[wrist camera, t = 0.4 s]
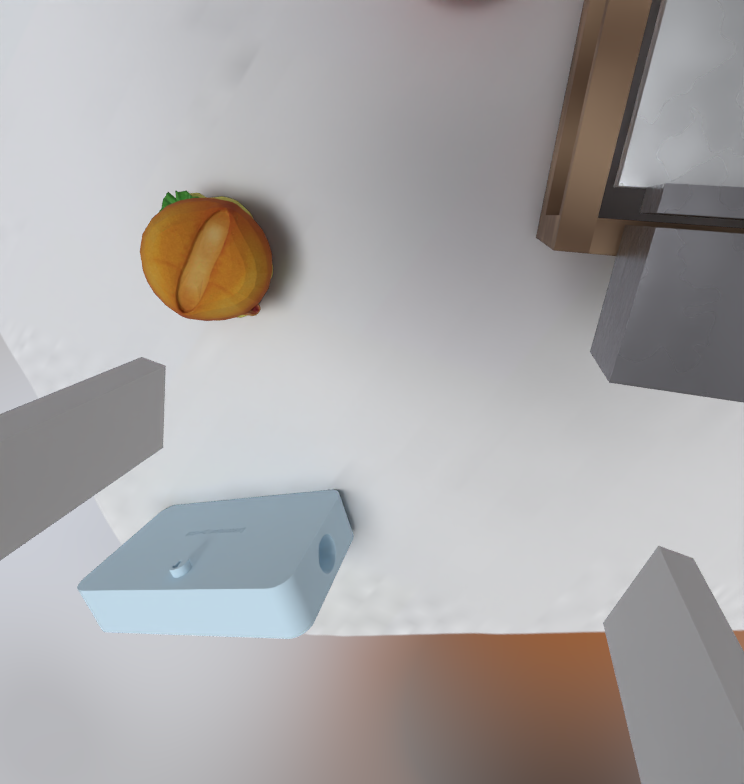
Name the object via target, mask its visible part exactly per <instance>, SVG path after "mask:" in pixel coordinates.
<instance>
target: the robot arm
mask: <svg viewBox="0 0 744 784" xmlns="http://www.w3.org/2000/svg"><path fill="white" fill-rule="evenodd" d="M165 367H166V366H165V365H162V364H159V363H157V362H154V361H151V360H148V359H146V358H143V357H141V358H138V359H136V360H133V361H131V362H128V363H126V364H123V365H121V366H118V367H116V368H113V369H111V370H108V371H106V372H103V373H101V374H99V375H96V376H94V377H91V378H89V379H86V380H84V381H81V382H79V383H76V384H74V385H71V386H69V387H66V388H64V389H61V390H59V391H56V392H54V393H51V394H49V395H47V396H44V397H42V398H39V399H37V400H34V401H32V402H29V403H27V404H24V405H22V406H19V407H17V408H14V409H12V410H9V411H7V412H5V413H2V414H0V560H2V559H3V558H5V557H6V556H7V555H9V554H10V553H12V552H13V551H15V550H16V549H17V548H19V547H20V546H22V545H23V544H25V543H26V542H27V541H29V540H30V539H32V538H33V537H35V536H36V535H38V534H39V533H41V532H42V531H43V530H45V529H46V528H48V527H49V526H50V525H52V524H54V523H55V522H56V521H58V520H59V519H61V518H62V517H64V516H65V515H67V514H68V513H69V512H71V511H72V510H74V509H75V508H77V507H78V506H79V505H81V504H82V503H84V502H85V501H87V500H88V499H90V498H91V497H92V496H94V495H95V494H97V493H98V492H100V491H101V490H103V489H104V488H105V487H107V486H108V485H110V484H111V483H113V482H114V481H116V480H117V479H118V478H120V477H121V476H123V475H124V474H126V473H127V472H129V471H130V470H131V469H133V468H134V467H136V466H137V465H139V464H140V463H141V462H143V461H144V460H146V459H147V458H149V457H150V456H152V455H153V454H154V453H156V452H157V451H159V450H160V449H162V448H163V429H164V398H165ZM603 624H604V628H605V633H606V637H607V641H608V645H609V649H610V654H611V658H612V662H613V666H614V670H615V675H616V679H617V683H618V687H619V691H620V696H621V700H622V704H623V708H624V712H625V717H626V721H627V725H628V729H629V733H630V738H631V742H632V746H633V750H634V754H635V759H636V763H637V767H638V771H639V776H640V780H641V784H744V651H743V649H742V648H741V646H740V644H739V642H738V640H737V638H736V636H735V635H734V633H733V631H732V629H731V627H730V625H729V623H728V622H727V620H726V618H725V616H724V614H723V612H722V611H721V609H720V607H719V605H718V603H717V601H716V599H715V598H714V596H713V594H712V592H711V590H710V588H709V587H708V585H707V583H706V581H705V579H704V577H703V575H702V574H701V572H700V570H699V568H698V566H697V564H696V562H695V561H694V559H693V558H691V557H688V556H685V555H682V554H680V553H677V552H674V551H671V550H669V549H666V548H663V547H661V546H658V547H657V549H656V550H655V551H654V553H653V554H652V556H651V557H650V558H649V560H648V561H647V563H646V564H645V565H644V567H643V568H642V569H641V571H640V572H639V574H638V575H637V576H636V578H635V579H634V581H633V582H632V583H631V585H630V586H629V588H628V589H627V590H626V592H625V593H624V595H623V596H622V597H621V599H620V600H619V601H618V603H617V604H616V606H615V607H614V608H613V610H612V611H611V613H610V614H609V615H608V617H607V618H606V620H605V621H604V622H603Z"/></svg>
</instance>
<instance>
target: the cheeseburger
mask: <svg viewBox="0 0 744 784" xmlns="http://www.w3.org/2000/svg"><path fill="white" fill-rule="evenodd" d="M175 192H176V198H175V197H174V196H172V195H171V194H170V193H169V192H168V193H167V194H166V196H165V198H164V199H163V203H162V209H161V210H160V211H159V213H158V214H157V215H155V216H154V217H153V218H152V219H151V221H150V223H149V224H148V226H147V228H146V229H145V231H144V233H143V235H142V241H141V248H140V255H141V260H142V267H143V272H144V274H145V277H146V279H147V282H148V284H149V285H150V287H151V288H152V290H153V292H154V293H155V294H156V295H157V296H158V297H159V298H160V299H161V301H162V302H163V303H164V304H165V305H166V306H168V307H169V308H170V309H172V310H173V311H175V312H176V313H178V314H179V315H181V316H183V317H185V318H189V319H196V320H204V321H212V320H226V319H231V318H235V317H240V318H241V317H244V316H247V315H250V316H255V315H257V314H258V313H259V311H260V306H259V304H258V303H259V302H260V301H261V299H262V298H263V296H264V295H265V293H266V292H267V290H268V289H269V284H270V280H271V278H272V275H273V264H272V253H271V249H270V246H269V242H268V240H267V238H266V236H265V234H264V232H263V230H262V229H261V228H260V226H259V225H258V224H257V223H256V222H255V220H254V219H253V217H252V215H251V213H250V212H249V211H248V210H247V209H246V208H245V207H244V206H242V205H241V204H240V203H239V202H238V201H236V200H233V199H231V198H227V197H223V196H220V197H212V198H207V197H205V196H203V195H201V194H200V193H188V192H187V191H182V192H177V191H175Z"/></svg>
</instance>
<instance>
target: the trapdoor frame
mask: <svg viewBox="0 0 744 784" xmlns="http://www.w3.org/2000/svg"><path fill="white" fill-rule="evenodd" d="M651 4H652V0H584V4H583V9H582V14H581V19H580V24H579V29H578V34H577V39H576V44H575V48H574V53H573V58H572V63H571V68H570V73H569V78H568V83H567V88H566V93H565V98H564V103H563V107H562V112H561V117H560V122H559V127H558V132H557V137H556V142H555V147H554V152H553V157H552V162H551V167H550V171H549V176H548V181H547V186H546V191H545V196H544V201H543V206H542V211H541V216H540V221H539V226H538V230H537V235H536V238H537V239H539V240H540V241H541V242H543V243H544V244H546V245H547V246H548V247H550V248H551V249H553V250H555V251H566V252H578V253H589V254H600V255H611V256H617V253H618V249H619V245H620V242H621V238H622V235H623V231H624V227H625V225H634V226H647V227H661V228H674V229H688V230H701V231H715V232H728V233H742V234H744V228H733V227H719V226H705V225H691V224H677V223H663V222H649V221H635V220H621V219H607V218H598V215H599V211H600V207H601V203H602V199H603V195H604V191H605V187H606V183H607V179H608V175H609V171H610V167H611V163H612V159H613V155H614V151H615V147H616V143H617V139H618V135H619V131H620V127H621V123H622V119H623V115H624V111H625V107H626V103H627V99H628V95H629V91H630V87H631V83H632V79H633V75H634V71H635V67H636V64H637V60H638V56H639V52H640V48H641V44H642V40H643V36H644V32H645V28H646V24H647V20H648V16H649V12H650V8H651Z"/></svg>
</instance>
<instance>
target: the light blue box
mask: <svg viewBox="0 0 744 784" xmlns="http://www.w3.org/2000/svg"><path fill="white" fill-rule="evenodd" d="M353 537H354V535H353V532H352V529H351V526H350V523H349V520H348V518H347V515H346V512H345V509H344V506H343V503H342V500H341V497H340V494H339V492H338V491H337V490H323V491H313V492H303V493H293V494H283V495H272V496H262V497H252V498H242V499H232V500H221V501H211V502H201V503H191V504H181V505H174V506H171V507H168V508H166V509H165V510H163V511H161V512H160V513H159V514H158V515H156V516H155V517H154V518H153V519H152V520H151V521H149V522H148V523H147V524H146V525H145V526H144V527H143V528H141V529H140V530H139V531H138V532H137V533H136V534H134V535H133V536H132V537H131V538H130V539H129V540H128V541H126V542H125V543H124V544H123V545H122V546H121V547H119V548H118V549H117V550H116V551H115V552H114V553H113V554H111V555H110V556H109V557H108V558H107V559H106V560H104V561H103V562H102V563H101V564H100V565H99V566H97V567H96V568H95V569H94V570H93V571H92V572H91V573H89V574H88V575H87V576H86V577H85V578H84V579H83V580H82V581H81V582H80V583H79V585H78V587H77V588H78V590H79V592H80V594H81V595H82V597H83V599H84V600H85V602H86V604H87V606H88V607H89V609H90V610H91V612H92V614H93V615H94V617H95V619H96V621H97V622H98V624H99V626H100V627H101V629H102V631H104V632H113V633H141V634H142V633H143V634H169V635H199V636H226V637H254V638H282V639H284V638H285V639H291V638H295V637H298V636H300V635H302V634H304V633H305V632H306V631H307V630H309V629H310V627H311V626H312V625H313V623H314V621H315V619H316V617H317V615H318V613H319V611H320V608H321V606H322V604H323V602H324V600H325V598H326V596H327V593H328V591H329V589H330V587H331V585H332V583H333V581H334V578H335V576H336V574H337V572H338V570H339V568H340V566H341V563H342V561H343V559H344V557H345V555H346V553H347V551H348V548H349V546H350V544H351V542H352V540H353Z"/></svg>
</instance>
